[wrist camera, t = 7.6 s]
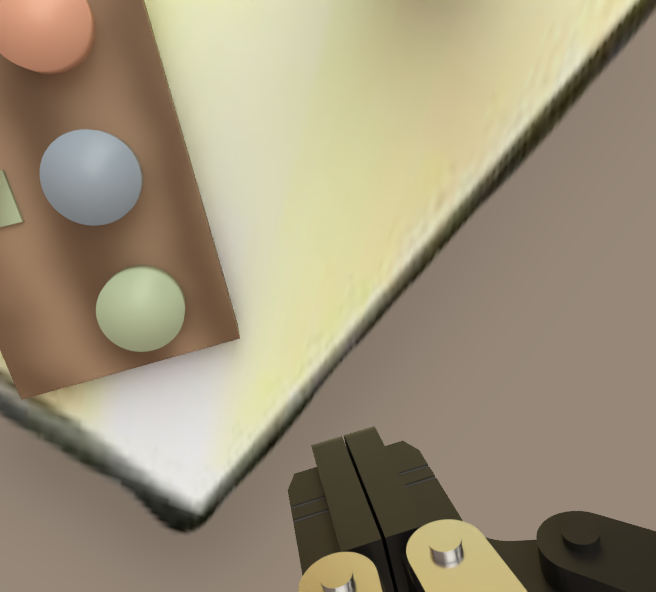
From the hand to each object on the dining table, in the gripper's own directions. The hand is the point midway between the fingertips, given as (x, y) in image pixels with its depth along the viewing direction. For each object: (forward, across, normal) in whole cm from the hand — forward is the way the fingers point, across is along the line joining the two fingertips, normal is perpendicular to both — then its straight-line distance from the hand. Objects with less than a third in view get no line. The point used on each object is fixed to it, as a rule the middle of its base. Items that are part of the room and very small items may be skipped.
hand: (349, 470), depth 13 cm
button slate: (+23, +8, -7) cm, 25 cm away
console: (+28, +10, -7) cm, 30 cm away
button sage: (+24, +8, +1) cm, 25 cm away
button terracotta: (+23, +8, -15) cm, 29 cm away
